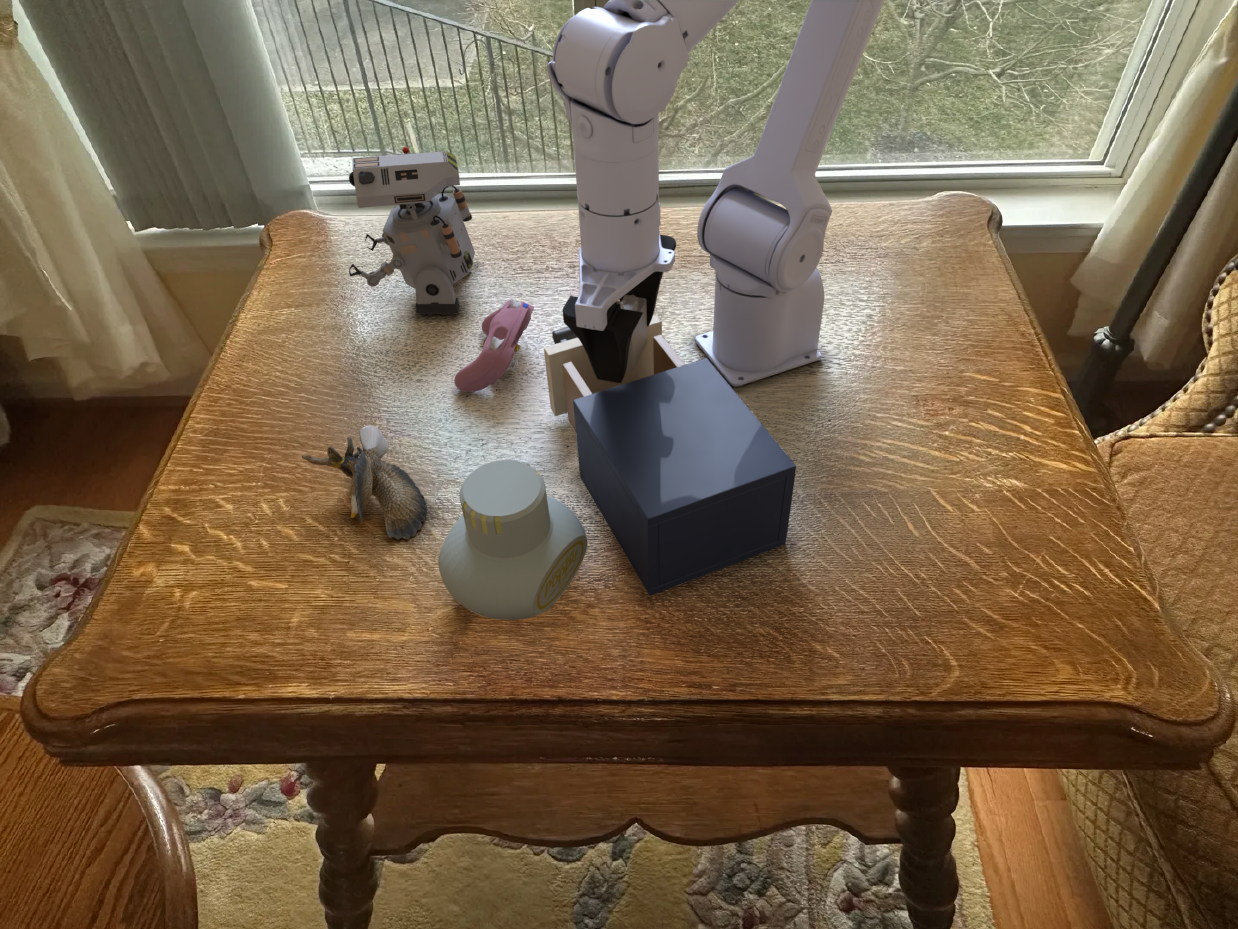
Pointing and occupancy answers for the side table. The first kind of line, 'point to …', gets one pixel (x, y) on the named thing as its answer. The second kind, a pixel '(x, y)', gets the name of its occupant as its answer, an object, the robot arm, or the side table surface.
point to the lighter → (636, 329)
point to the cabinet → (683, 474)
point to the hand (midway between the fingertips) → (624, 349)
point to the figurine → (418, 224)
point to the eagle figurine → (378, 483)
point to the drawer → (576, 375)
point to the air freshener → (510, 544)
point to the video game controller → (496, 346)
